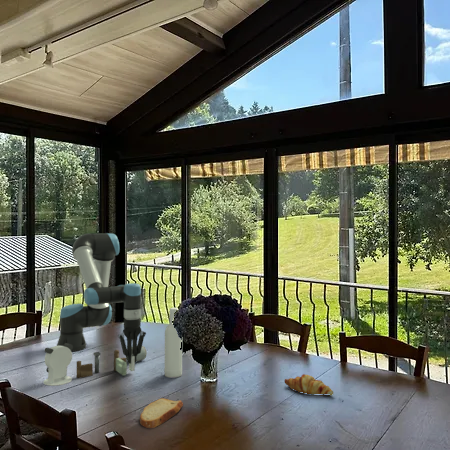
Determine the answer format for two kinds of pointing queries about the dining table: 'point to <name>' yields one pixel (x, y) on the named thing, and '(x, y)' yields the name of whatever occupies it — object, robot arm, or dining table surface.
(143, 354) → the ceramic mug
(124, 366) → the gate
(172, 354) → the bottle
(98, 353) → the post
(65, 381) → the cream upright rounded piece
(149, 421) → the slice of bread
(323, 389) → the croissant
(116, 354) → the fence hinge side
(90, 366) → the fence far side
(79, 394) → the dining table surface
